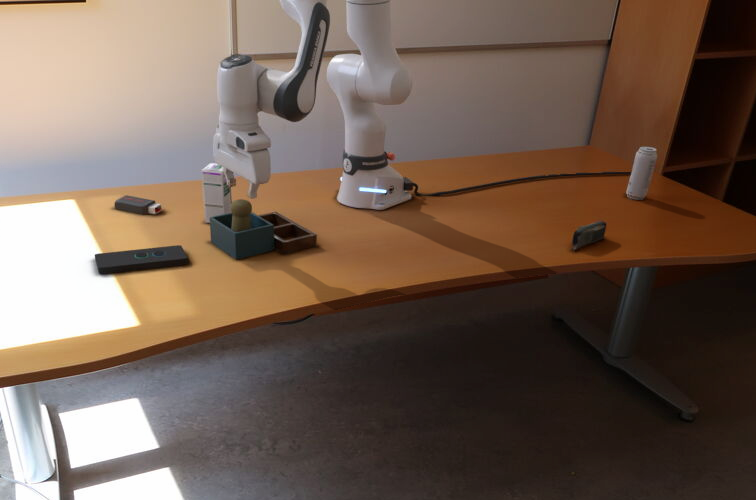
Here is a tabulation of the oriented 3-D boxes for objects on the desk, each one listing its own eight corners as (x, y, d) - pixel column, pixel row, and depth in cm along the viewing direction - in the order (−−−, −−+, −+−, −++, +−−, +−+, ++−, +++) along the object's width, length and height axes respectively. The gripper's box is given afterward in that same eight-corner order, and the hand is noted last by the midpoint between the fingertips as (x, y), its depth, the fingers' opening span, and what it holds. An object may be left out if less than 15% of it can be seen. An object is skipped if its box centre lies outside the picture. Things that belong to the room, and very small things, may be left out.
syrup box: (225, 225, 194) (223, 171, 186) (204, 223, 194) (201, 168, 187) (232, 218, 198) (230, 164, 191) (211, 215, 199) (209, 162, 192)
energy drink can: (628, 192, 233) (641, 144, 225) (648, 197, 230) (661, 148, 222) (622, 197, 228) (635, 148, 221) (642, 201, 226) (655, 152, 218)
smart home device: (188, 257, 171) (98, 267, 164) (188, 264, 172) (99, 274, 165) (181, 244, 178) (94, 253, 171) (181, 250, 179) (95, 260, 172)
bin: (248, 233, 190) (247, 209, 186) (274, 250, 182) (273, 224, 178) (210, 242, 184) (209, 217, 180) (236, 259, 176) (235, 233, 172)
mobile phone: (599, 218, 198) (569, 229, 189) (609, 221, 196) (580, 233, 187) (595, 235, 200) (565, 248, 191) (605, 239, 199) (576, 251, 189)
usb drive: (126, 202, 204) (125, 193, 203) (163, 210, 201) (163, 200, 199) (114, 208, 200) (113, 198, 199) (153, 216, 197) (152, 206, 195)
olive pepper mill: (252, 249, 180) (251, 206, 174) (227, 248, 180) (226, 204, 174) (255, 239, 185) (255, 197, 179) (231, 238, 185) (230, 196, 179)
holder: (275, 222, 197) (275, 211, 196) (316, 245, 185) (316, 234, 184) (244, 229, 192) (243, 218, 190) (283, 254, 180) (283, 242, 178)
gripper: (204, 124, 173) (208, 181, 181) (250, 146, 160) (252, 207, 167) (228, 120, 177) (231, 176, 184) (275, 142, 163) (276, 202, 171)
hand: (241, 191), depth 176 cm, fingers open, 8 cm apart
